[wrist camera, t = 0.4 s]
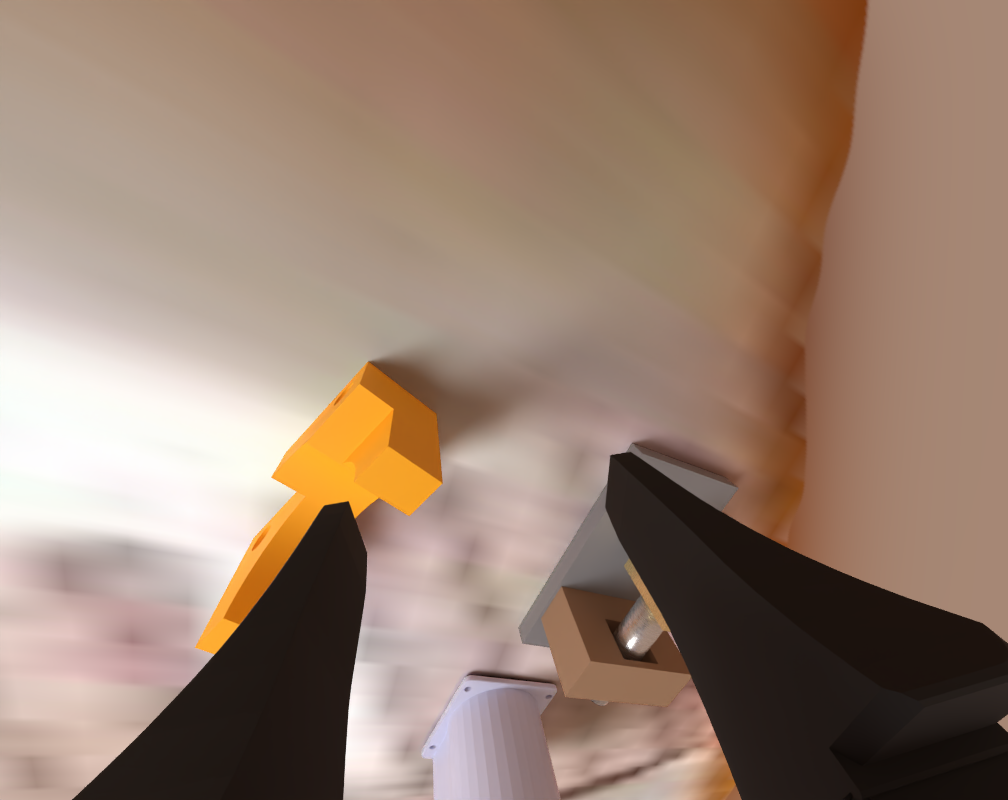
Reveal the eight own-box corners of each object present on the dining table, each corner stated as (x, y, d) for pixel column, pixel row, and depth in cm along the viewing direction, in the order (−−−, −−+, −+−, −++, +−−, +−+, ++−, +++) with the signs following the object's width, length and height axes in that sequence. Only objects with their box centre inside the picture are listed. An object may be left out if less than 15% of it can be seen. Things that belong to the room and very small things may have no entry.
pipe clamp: (368, 360, 19) (346, 417, 14) (436, 412, 21) (442, 483, 15) (223, 520, 21) (149, 632, 15) (297, 556, 23) (255, 668, 17)
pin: (600, 658, 28) (629, 729, 24) (564, 653, 27) (589, 726, 23) (685, 539, 25) (736, 598, 21) (649, 529, 24) (694, 588, 20)
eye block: (607, 641, 31) (648, 731, 26) (518, 627, 29) (542, 724, 23) (725, 477, 27) (806, 543, 21) (632, 443, 24) (696, 508, 18)
